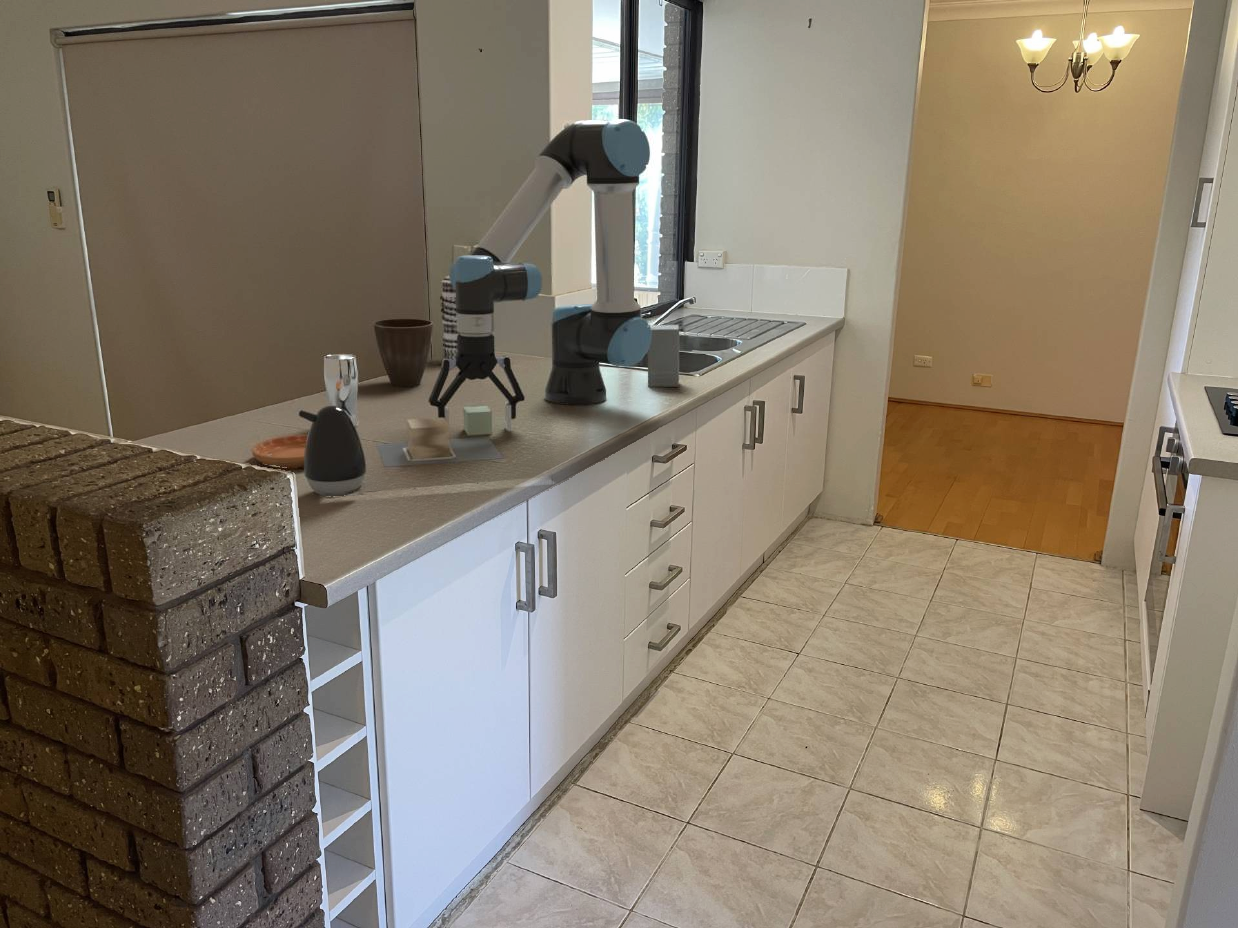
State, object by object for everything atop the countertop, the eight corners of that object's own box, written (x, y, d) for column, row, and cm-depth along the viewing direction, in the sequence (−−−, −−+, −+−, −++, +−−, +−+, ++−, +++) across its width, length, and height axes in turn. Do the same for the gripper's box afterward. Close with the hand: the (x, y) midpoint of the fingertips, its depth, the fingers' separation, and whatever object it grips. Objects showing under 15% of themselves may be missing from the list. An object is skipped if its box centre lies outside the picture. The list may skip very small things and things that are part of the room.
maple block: (444, 447, 186) (443, 417, 184) (450, 456, 180) (449, 426, 178) (408, 449, 184) (407, 419, 182) (412, 459, 178) (411, 428, 176)
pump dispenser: (311, 483, 167) (305, 399, 162) (372, 483, 167) (367, 399, 163) (297, 502, 157) (290, 413, 152) (362, 501, 158) (356, 413, 153)
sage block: (487, 433, 202) (486, 406, 200) (492, 439, 197) (491, 411, 195) (464, 435, 200) (463, 407, 198) (468, 441, 196) (467, 412, 194)
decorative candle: (455, 366, 273) (453, 278, 265) (435, 361, 278) (432, 275, 271) (480, 362, 279) (478, 276, 272) (460, 358, 285) (457, 273, 278)
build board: (487, 442, 194) (487, 436, 194) (503, 464, 180) (503, 457, 180) (377, 450, 188) (376, 443, 187) (385, 473, 173) (384, 466, 173)
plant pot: (444, 386, 246) (442, 324, 242) (389, 392, 238) (386, 328, 234) (421, 376, 258) (419, 317, 253) (368, 381, 250) (364, 320, 245)
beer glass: (367, 423, 208) (363, 355, 204) (348, 430, 202) (344, 360, 197) (340, 419, 210) (335, 352, 206) (321, 427, 204) (316, 358, 200)
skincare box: (678, 383, 256) (681, 324, 251) (677, 388, 249) (680, 328, 244) (647, 382, 256) (649, 323, 252) (645, 387, 250) (647, 327, 245)
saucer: (255, 476, 171) (254, 460, 170) (250, 453, 185) (249, 438, 184) (346, 467, 177) (345, 451, 176) (335, 445, 191) (334, 431, 190)
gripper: (416, 338, 185) (421, 444, 191) (538, 334, 193) (539, 436, 199) (412, 332, 192) (416, 435, 198) (530, 329, 200) (530, 428, 206)
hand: (477, 436), depth 199 cm, fingers open, 12 cm apart
